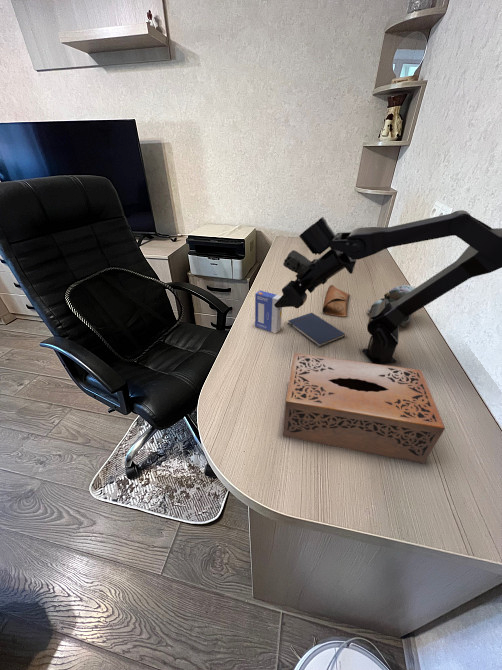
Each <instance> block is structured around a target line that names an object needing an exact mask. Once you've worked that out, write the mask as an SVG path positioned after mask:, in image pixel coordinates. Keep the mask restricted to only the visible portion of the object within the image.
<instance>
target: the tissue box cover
mask: <svg viewBox="0 0 502 670" xmlns="http://www.w3.org/2000/svg"><path fill="white" fill-rule="evenodd" d="M282 427H283V429H282V437H285V438H286V437H287V438H292V439H297V440H303V441H308V442H312V443H317V444H323V445H328V446H333V447H338V448H343V449H348V450H353V451H358V452H362V453H367V454H373V455H379V456H384V457H388V458H394V459H399V460H405V461H410V462H415V463H419V464H425V462H426V461H427V459H428V457H429V456H430V454H431V453H432V451H433V449H434V448H435V446H436V444H437V443H438V441H439V440H440V438H441V436H442V434H443V433H444V432H445V429H446V427H445V424H444V422H443V419H442V417H441V415H440V413H439V410H438V407H437V405H436V402H435V400H434V398H433V395H432V393H431V390H430V388H429V385H428V383H427V381H426V378H425V375H424V373H423V371H422V370H421V369H416V368H408V367H403V366H401V367H400V366H395V365H387V364H381V365H380V364H373V363H372V362H366V361H365V362H364V361H357V360H349V359H342V358H335V357H329V356H320V355H313V354H305V353H298V352H293V357H292V364H291V370H290V376H289V381H288V387H287V392H286V398H285V405H284V417H283V426H282Z"/></svg>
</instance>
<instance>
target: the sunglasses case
mask: <svg viewBox="0 0 502 670" xmlns="http://www.w3.org/2000/svg"><path fill="white" fill-rule="evenodd" d="M349 297H350V294H349V293H347V292H345V291H343V290H341V289H340V288H337V287H336V286H335V285H333V284H331V285H329V287H328V288H327V291H326V293H325V298H324V302H323V305H322V312H323V314H324V315H328V316H334V317H342V318H344V317H347V315H348V314H347V311H348V310H347V309H348V301H349Z"/></svg>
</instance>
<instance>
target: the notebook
mask: <svg viewBox="0 0 502 670" xmlns="http://www.w3.org/2000/svg"><path fill="white" fill-rule="evenodd" d="M287 321H288V323H287V324H288V326H290V327H291V328H293V329H294V330H295V331H297V332H298V333H300V334H301V335H302V336H304V337H305V338H306V339H308V340H309V341H310V342H311V343H313V344H315V345H316V347H319V348H321V347H323V346H326V345H329V344H331V343H333V342H335V341H338V340H340V339H343V338H345V335H346V333H345V332H343V331H342V330H340V329H338V327H335V326H334V325H332V324H331V323H329V322H328V321H326V320H324V319H323V318H321V317H320V316H318V315H316V314H315V313H313V312H309V313H306V314H304V315H300V316H297V317H295V318H291V319H289V320H287Z"/></svg>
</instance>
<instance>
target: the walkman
mask: <svg viewBox="0 0 502 670" xmlns="http://www.w3.org/2000/svg"><path fill="white" fill-rule="evenodd" d="M281 297H282V295H280V294H277V293H271V292H269V291H264V290H258V291H257V292H255V295H254V326H255V328H259V329H262V330H265V331H268V332H270V333H274V334H277V333H278V332H280V331H281V328H282V316H283V315H282V314H283V313H282V312H283V307H281V308H276V307H275V306H274V304H275V303H276V302H277V301H278V300H279V299H280V298H281Z"/></svg>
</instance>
